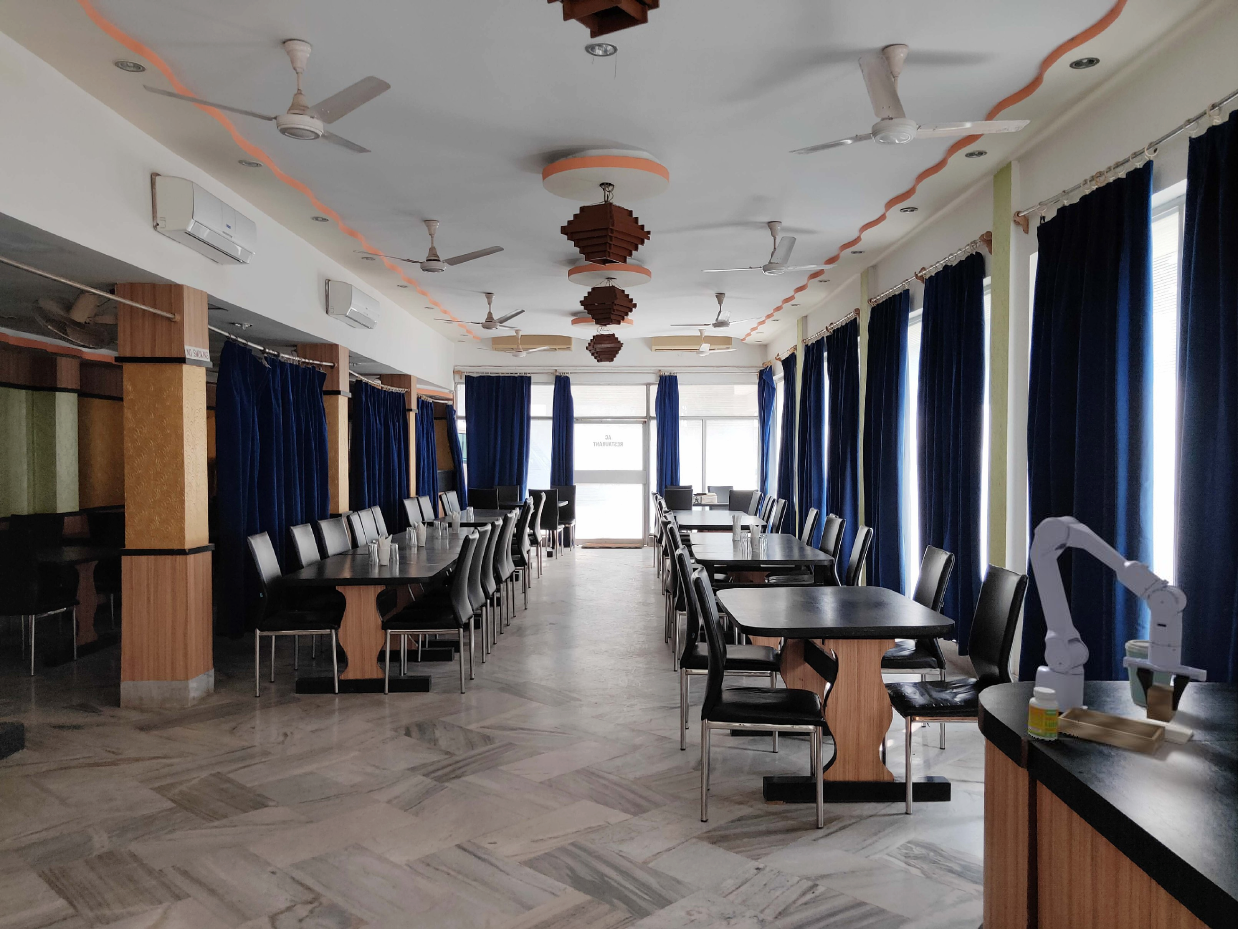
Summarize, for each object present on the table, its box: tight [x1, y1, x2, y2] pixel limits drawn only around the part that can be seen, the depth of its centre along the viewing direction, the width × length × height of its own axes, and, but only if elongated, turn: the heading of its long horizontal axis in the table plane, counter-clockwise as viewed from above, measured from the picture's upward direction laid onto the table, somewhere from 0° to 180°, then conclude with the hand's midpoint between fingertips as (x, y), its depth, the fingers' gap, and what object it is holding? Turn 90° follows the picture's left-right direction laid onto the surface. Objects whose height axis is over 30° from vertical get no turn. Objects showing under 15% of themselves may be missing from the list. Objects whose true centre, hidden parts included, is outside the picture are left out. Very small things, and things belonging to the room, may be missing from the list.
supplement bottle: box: [1027, 687, 1059, 741], centre depth 167 cm, size 5×5×10 cm
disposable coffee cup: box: [1124, 639, 1173, 708], centre depth 192 cm, size 11×11×15 cm
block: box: [1145, 682, 1177, 724], centre depth 172 cm, size 4×8×6 cm, turn 137°
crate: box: [1058, 706, 1166, 756], centre depth 169 cm, size 17×11×3 cm, turn 47°
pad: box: [1136, 718, 1194, 746], centre depth 172 cm, size 10×10×1 cm
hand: (1161, 707), depth 172 cm, fingers closed on block, 4 cm apart
